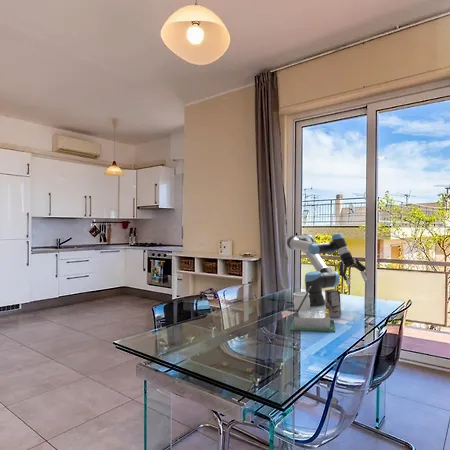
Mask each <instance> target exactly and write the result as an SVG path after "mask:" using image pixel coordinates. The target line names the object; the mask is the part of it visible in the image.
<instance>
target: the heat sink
mask: <svg viewBox="0 0 450 450" xmlns="http://www.w3.org/2000/svg"><path fill="white" fill-rule="evenodd" d="M296 311H297V309H296ZM330 318H331V316H330V314H329V309H326V308H325V309H324V311H318V310H316V311H314V310H313V311H312V310H309V311H299V312H294V316H293V318H292V321H291V324H290V328H289V331H290V332H310V333H311V332H313V333H317V332H318V333H336V326H335V319H330Z"/></svg>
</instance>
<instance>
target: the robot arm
mask: <svg viewBox="0 0 450 450" xmlns="http://www.w3.org/2000/svg"><path fill="white" fill-rule="evenodd" d="M331 239H332V240H331V241H330V242H321V243H320V242H319V243H316V241H315V238H314V237H313V236H312V235H311V234H305V233H304V234H295V235H291V236H289V237H288V238H287V239H286V246H287V248H288V249H290V250H294V251H295V250H299V251H301V252H302V253H304V254H305V255H306V257H307V258H308V260H309V261H310V263H311V265H312V266H313V267H314V270H315V271H309V272H306V274H305V275H304V284H305V292H307V291H308V289H309V287H310V286H311V289H310V291H309V299H310V307H318V306H319V307H320V306H325V305H326V300H325V296H324V295H323V289H328V288H335V287H337V286H338V285H339V284H340V276H341V277H342V278H343V280H344V281H345V283H346V285H347V286H349V285H351V282H350V279H349V277H348V275H347V274H346V273H347V270H348V268H350V267H353V268H355V269H356V270H358V271H360V274H361V275H360V276H361V277H362V279H363V281H364V282H366V281H368V278H367V274H366V272H365V270H367V268H366V267H365V266H364V265H363V264H362V262H360V261H359V259H358V258H357V257H355V258H353V255H352V253H351V252H350V249H349V246H348V244H347V242H346V240H345V237H344V236H343V233H341V232H336V233H335V234H333V235H332V236H331ZM336 252H337V253H338V256H339V258H340V262H338V265H339V268H338V269H339V271H338V272H339V273H338V272H337V271H336V270H333V269H332V268H331V267H329V266H327V265H326V263H325V262H324V260H323V258H322V257H321V256H320V254H321V255H323V254H326V255H330V256H331V255H332V254H333V255H334V253H336Z"/></svg>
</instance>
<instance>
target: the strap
mask: <svg viewBox="0 0 450 450" xmlns="http://www.w3.org/2000/svg"><path fill="white" fill-rule="evenodd" d="M310 289H311V286H310V287H309V289H308V291H307V293H306V294H305V296H304V298H303V300H302V302H301V304H300V306H299V307H298V309H297V311H296V312H299V310H300V308H301V306H302V304H303V302H304V300H305V299H306V297H307V295H308V293H309V291H310Z"/></svg>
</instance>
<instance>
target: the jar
mask: <svg viewBox="0 0 450 450" xmlns="http://www.w3.org/2000/svg"><path fill="white" fill-rule="evenodd" d="M306 293H307V292H306V291H297V292H296V291H295V292H293V293H292V295H293V300H292V301H293V307H294V311H295V312H296V309H298V307H299V306H300V304H301V302H302V300H303V298H304V296H305V294H306ZM310 307H311V306H310V299H309V293H308V295H307V297H306V299H305V300H304V302H303V304H302V306H301V308H300V310H299V311H310ZM295 312H294V313H295Z"/></svg>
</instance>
